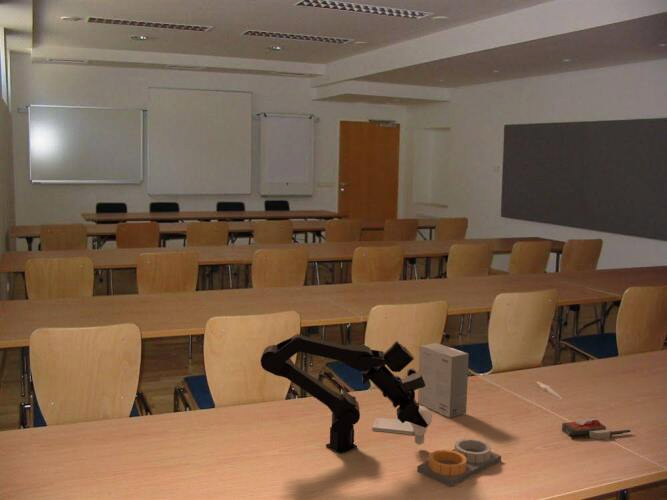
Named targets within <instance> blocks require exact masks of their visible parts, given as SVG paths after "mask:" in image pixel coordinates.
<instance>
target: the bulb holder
mask: <svg viewBox="0 0 667 500" xmlns="http://www.w3.org/2000/svg"><path fill="white" fill-rule="evenodd" d="M500 462H502V455H500V454H498V453H495V452H493V451H492V445H490V444H489V443H488V442H486V441H483V440H481V439H476V438H462V439H459V440H456V441H455V443H454V449H451V450H449V449H439V450H435V451H433V452H430V453H429V456H428V461H425V462H423V463H421V464H418V465H417V473H420V474H422V475H424V476H427V477H429V478H431V479H433V480H436V481H437V482H440V483H441V484H444V485H446V486H448V487H454V486H456V485H458V484H460V483H462V482H463V481H465V480H467V479H469V478H471V477H473V476H475V475H477V474H479V473H481V472H482V471H484V470H487V469H488V468H490V467H492V466H494V465H496V464H498V463H500Z"/></svg>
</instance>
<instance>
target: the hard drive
mask: <svg viewBox="0 0 667 500" xmlns="http://www.w3.org/2000/svg"><path fill="white" fill-rule="evenodd" d="M371 431H375V432H384V433H395V434H401V435H402V434H404V435H409V436H410V435H412V436H413V435H415V433H414V429H413V427H412V425H411V423H410V422H407V421H405V422H404V423H402V422H401V421H400V420H399V419H395V418H386V417H385V418H383V417H375V419H374V422H373V425H372V427H371Z"/></svg>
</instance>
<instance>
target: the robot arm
mask: <svg viewBox="0 0 667 500" xmlns="http://www.w3.org/2000/svg"><path fill="white" fill-rule="evenodd" d="M298 353H305V354H308V355H309V354H310V355H313V356H318V357H322V358H326V359H329V360H335V361H338V362H340V363H343V364H345V365H346V366H348V367H350V368H351V369H354V370H357V371H358V372H361V376H362V377H361V381H362V382H361V383H362V384H366V383H367V382H369V381H370V382H372V384H373V385H374V386H375V387H376V388H377V389H378V390H379V391H380V392H381V393H382V396H383V397H384V398H387V399H388V400H389V401H390V402H391V403H392V407H394V408H395V409H396V417H397V420H400V421H401V422H402V423H404V422H405V421H407V422H410V423H413V424H416V425H419V426H422V427H424V428H426V427H427V426H428V424H427V423H426V421H425V420H424V418H423V417H422V415H421V414H420V412H419V406H420V404H419V403H418V401H416V392H415V391H416V390H419V388H423V387H425V386H426V385H425V382H424V380H423V377H422V375H421V373H420V372H419V370H417V371H416V370H415V368H409V369H407V371H406V375H404V377H403V378H401V377H400V376H398V375H395V374H394V373H400V372H401V371H403V370H404V369H405V368H406V367H407V366H408V365H409V364H411V362H412V361H414V360H415V357H414V356H413V354H412V353H411V352H410V351H409V350H408V349H407V347H406V346H404V345H402V344H401V343H399V341H397V340H396V341H395V342H393V344H392V345H391V346H390V347H389V348H388V349H387V350H386V351H385V352H384V351H383V350H382V351H381V350H377V349H371V347H369V346H367V345H363V344H362V345H361V344H347V345H345V344H344V345H343V344H338V343H336V342H335V343H334V342H330V341H326V340H322V339H317V338H313V337H309V336H306V335H303V334H300V333H297V334H294V335H293V336H292V337H289V338H288V339H285V340H283V341H281V342H279V343H277V344H272V345H268V346H267V347H265V348H264V349H263V351H262V354H261V357H260V365H261V367H262V369H263V370H264V371H265V372H268V373H269V374H272V375H274V376H277V377H281V378H285V379H287V380H288V381H290V382H292V383H293V384H294V385H296V386H297V387H299V388H300V389H301V390H304V392H306V393H308V394H309V395H310V396H312V397H313V398H315V399H316V400H318V401H319V402H320V403H322V404H323V405H325V406H326V407H327V408H328V409H329V410H330V412H331V426H330V427H329V443H326V444H325V447H326V448H328V449H330V450H333V451H335V452H336V453H338V454H344V453H347V452H349V451H352V450H354V449H357V448H358V445H357V444H355V428H354V426H355V425H356V424H357V423H358V422H359V420H361V419H360V418H361V412H360V405H359V401H358V400H357V399H356V396H354V395H351V394H350V393H348V392H347V390H345V389H344V390H343V391H342V393H340V392H336V391H334V390H333V389H331V388H330V387H329V386H326V384H324V383H323V382H321V381H320V380H318V379H317V378H315V377H314V376H312V375H311V374H310V373H308V372H306V371H305V370H304V369H303V368H301V367H299V366H298V365H296V364H295V363H294V362H293V360H292V359H291V358H292V357H293V356H295V355H296V354H298ZM428 427H429V426H428Z"/></svg>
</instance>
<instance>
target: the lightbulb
mask: <svg viewBox="0 0 667 500" xmlns="http://www.w3.org/2000/svg"><path fill="white" fill-rule="evenodd" d="M419 412H420V414H421V415H422V417H423V418H424V420H425V421H426V423H427V424H428V426H427V427H426V428H424V427H422V426H419V425H416V424H413V423H411V425H412V427H413V429H414V443H415V444H417V445H423V444H425V434H426V433H427V432H426V431H427V429H428V427H429V426H430V425H431V423H432V419H433V418H432V417H433V416H432V413H431V410H429V408H427V407H425V406H423V405H419Z"/></svg>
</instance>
